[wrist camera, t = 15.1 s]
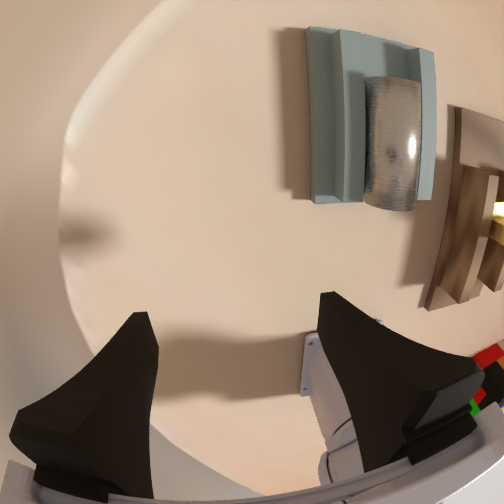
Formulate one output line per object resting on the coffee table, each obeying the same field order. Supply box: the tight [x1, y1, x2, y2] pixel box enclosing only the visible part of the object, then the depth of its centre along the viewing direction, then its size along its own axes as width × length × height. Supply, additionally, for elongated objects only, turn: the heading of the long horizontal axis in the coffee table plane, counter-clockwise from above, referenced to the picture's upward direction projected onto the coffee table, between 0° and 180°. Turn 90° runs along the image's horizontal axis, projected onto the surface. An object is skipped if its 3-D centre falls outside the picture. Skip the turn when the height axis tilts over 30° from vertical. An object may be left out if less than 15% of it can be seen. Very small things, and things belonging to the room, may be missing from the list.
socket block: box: [424, 107, 504, 312], centre depth 20 cm, size 20×9×4 cm, turn 2°
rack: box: [305, 26, 437, 204], centre depth 16 cm, size 12×10×3 cm
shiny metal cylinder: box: [363, 76, 421, 211], centre depth 16 cm, size 8×4×4 cm, turn 2°
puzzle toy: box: [469, 339, 504, 417], centre depth 32 cm, size 10×10×10 cm
